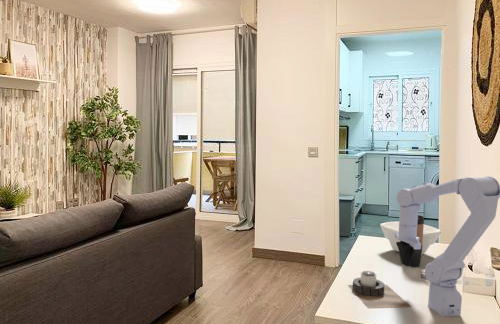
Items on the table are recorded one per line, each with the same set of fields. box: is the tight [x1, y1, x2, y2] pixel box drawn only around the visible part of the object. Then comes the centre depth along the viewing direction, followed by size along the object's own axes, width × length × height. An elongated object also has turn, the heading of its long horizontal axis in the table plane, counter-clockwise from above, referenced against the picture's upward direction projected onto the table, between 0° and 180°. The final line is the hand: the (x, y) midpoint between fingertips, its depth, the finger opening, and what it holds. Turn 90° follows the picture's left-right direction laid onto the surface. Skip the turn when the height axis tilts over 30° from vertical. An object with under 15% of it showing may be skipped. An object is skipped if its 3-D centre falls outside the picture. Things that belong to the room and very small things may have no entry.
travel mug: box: [404, 214, 425, 268], centre depth 171 cm, size 8×8×20 cm
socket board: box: [347, 276, 412, 309], centre depth 136 cm, size 18×14×4 cm
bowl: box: [379, 220, 442, 255], centre depth 188 cm, size 22×22×12 cm
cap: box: [360, 270, 377, 287], centre depth 140 cm, size 5×5×6 cm
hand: (405, 264), depth 141 cm, fingers closed
